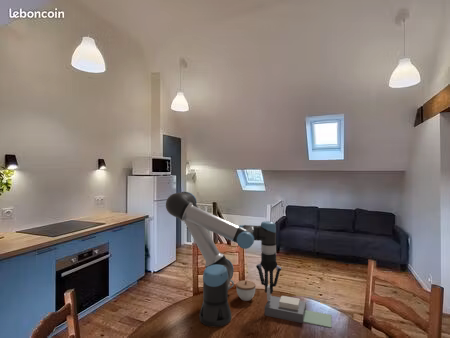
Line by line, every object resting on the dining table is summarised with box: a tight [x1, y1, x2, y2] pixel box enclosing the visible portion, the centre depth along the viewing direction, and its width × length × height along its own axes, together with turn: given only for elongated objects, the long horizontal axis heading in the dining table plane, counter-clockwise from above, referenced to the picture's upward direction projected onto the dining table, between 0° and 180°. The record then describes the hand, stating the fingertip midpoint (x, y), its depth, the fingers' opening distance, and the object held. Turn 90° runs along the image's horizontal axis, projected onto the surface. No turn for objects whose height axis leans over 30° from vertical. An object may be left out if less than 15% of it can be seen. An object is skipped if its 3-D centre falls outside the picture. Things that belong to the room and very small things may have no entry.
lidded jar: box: [235, 279, 257, 302], centre depth 145 cm, size 11×11×9 cm
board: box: [264, 295, 307, 324], centre depth 130 cm, size 18×13×4 cm
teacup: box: [228, 279, 235, 291], centre depth 154 cm, size 14×11×8 cm
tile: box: [279, 295, 301, 310], centre depth 129 cm, size 9×7×2 cm
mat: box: [303, 309, 332, 329], centre depth 124 cm, size 12×11×1 cm
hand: (269, 299), depth 133 cm, fingers closed
